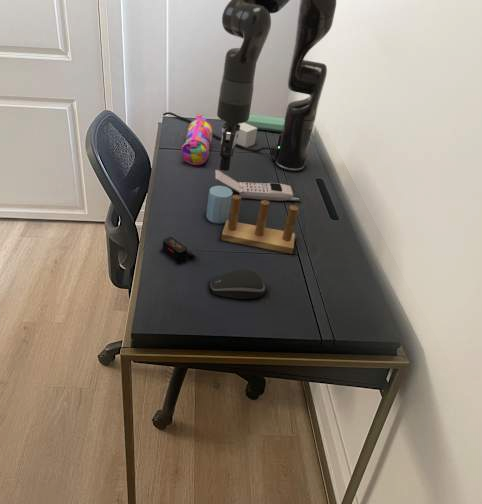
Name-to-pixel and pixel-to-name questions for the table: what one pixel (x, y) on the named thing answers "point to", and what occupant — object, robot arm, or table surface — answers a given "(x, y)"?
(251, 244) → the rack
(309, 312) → the table surface
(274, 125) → the teal long bar
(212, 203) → the cup
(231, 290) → the computer mouse
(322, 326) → the table surface
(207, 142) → the pencil case
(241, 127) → the white cube
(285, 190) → the mobile phone
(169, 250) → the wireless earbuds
